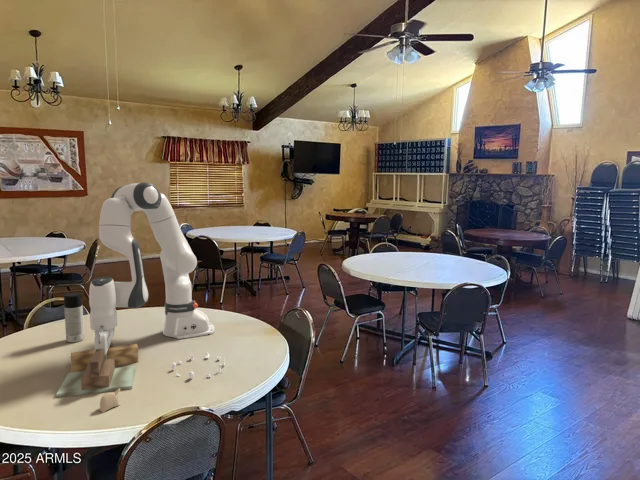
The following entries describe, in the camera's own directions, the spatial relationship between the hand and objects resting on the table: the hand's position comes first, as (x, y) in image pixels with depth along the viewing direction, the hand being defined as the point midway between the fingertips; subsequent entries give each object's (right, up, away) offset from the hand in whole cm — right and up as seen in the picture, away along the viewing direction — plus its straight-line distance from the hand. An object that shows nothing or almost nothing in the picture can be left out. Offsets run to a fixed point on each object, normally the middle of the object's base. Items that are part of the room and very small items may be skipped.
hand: (105, 358), depth 162 cm
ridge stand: (+4, -5, -13) cm, 14 cm away
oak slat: (0, -3, 0) cm, 3 cm away
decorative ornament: (+16, -7, -28) cm, 33 cm away
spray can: (-24, +1, +24) cm, 34 cm away
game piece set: (+35, -4, 0) cm, 35 cm away
